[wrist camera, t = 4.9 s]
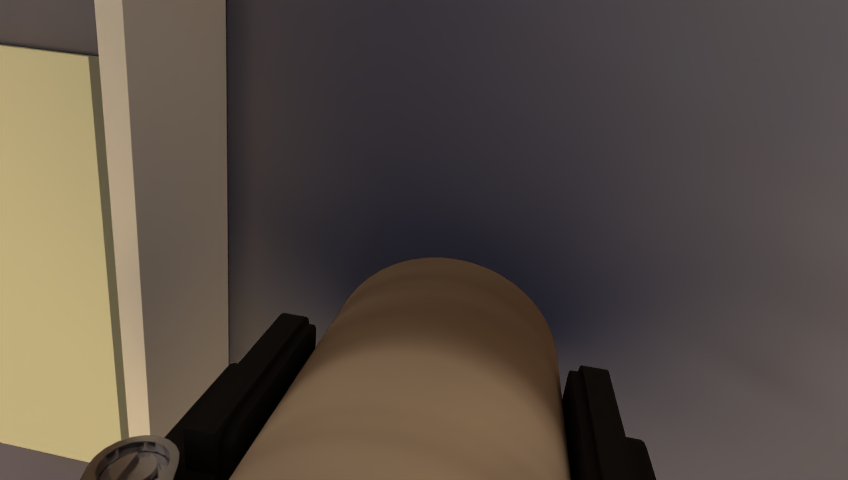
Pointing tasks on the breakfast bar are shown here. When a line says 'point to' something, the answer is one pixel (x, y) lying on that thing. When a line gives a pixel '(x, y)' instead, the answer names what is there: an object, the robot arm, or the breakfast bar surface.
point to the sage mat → (57, 259)
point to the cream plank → (167, 198)
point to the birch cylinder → (423, 386)
